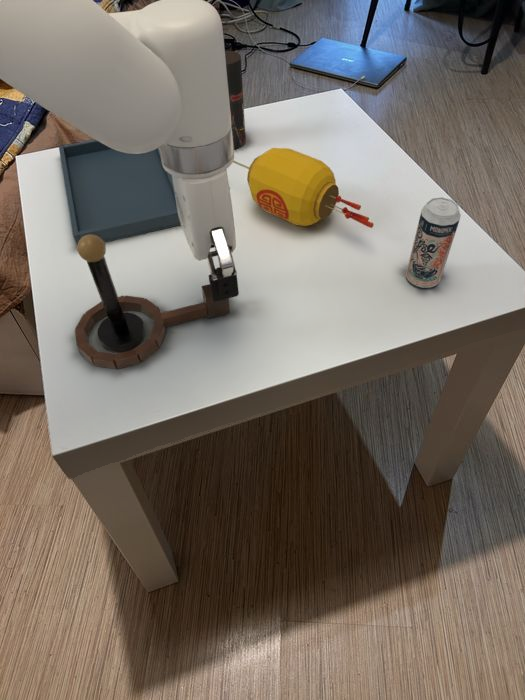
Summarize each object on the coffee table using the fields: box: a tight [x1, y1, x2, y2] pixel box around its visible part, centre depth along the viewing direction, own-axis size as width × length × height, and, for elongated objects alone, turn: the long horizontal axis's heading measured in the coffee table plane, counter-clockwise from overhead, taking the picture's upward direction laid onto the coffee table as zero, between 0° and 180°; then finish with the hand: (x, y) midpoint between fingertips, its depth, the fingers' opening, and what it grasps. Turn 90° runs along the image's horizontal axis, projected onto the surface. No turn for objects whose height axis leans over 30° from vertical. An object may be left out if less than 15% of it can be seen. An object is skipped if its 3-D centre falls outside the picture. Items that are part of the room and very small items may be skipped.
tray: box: [58, 139, 181, 246], centre depth 90 cm, size 18×28×2 cm, turn 18°
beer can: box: [405, 196, 462, 289], centre depth 69 cm, size 5×5×12 cm
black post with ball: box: [76, 234, 146, 353], centre depth 63 cm, size 6×6×16 cm
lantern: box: [232, 147, 375, 229], centre depth 81 cm, size 10×10×30 cm
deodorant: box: [225, 49, 247, 150], centre depth 94 cm, size 6×6×15 cm
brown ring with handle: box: [74, 283, 231, 370], centre depth 68 cm, size 20×11×4 cm, turn 108°
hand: (215, 271), depth 66 cm, fingers open, 9 cm apart
